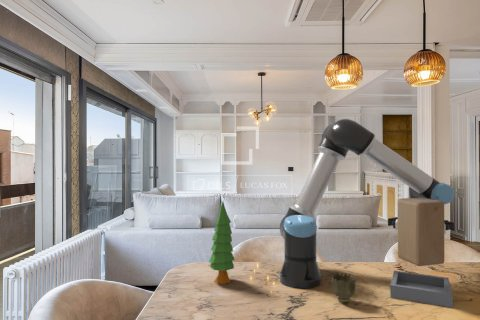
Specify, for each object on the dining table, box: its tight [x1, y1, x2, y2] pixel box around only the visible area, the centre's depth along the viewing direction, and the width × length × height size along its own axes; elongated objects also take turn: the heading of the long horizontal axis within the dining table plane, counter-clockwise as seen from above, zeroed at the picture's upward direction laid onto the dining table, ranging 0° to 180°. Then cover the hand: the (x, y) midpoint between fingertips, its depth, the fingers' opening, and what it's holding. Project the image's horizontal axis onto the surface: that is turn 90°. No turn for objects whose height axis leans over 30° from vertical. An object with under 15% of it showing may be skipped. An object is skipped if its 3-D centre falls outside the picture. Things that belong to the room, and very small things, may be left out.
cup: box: [331, 272, 357, 305], centre depth 105 cm, size 8×7×8 cm
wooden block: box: [397, 197, 445, 267], centre depth 109 cm, size 10×10×20 cm
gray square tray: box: [389, 270, 454, 309], centre depth 112 cm, size 17×17×4 cm
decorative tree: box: [208, 201, 235, 285], centre depth 125 cm, size 10×9×30 cm
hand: (419, 227), depth 109 cm, fingers closed on wooden block, 13 cm apart
